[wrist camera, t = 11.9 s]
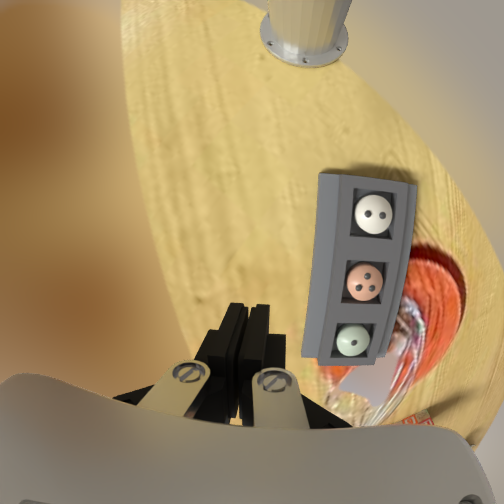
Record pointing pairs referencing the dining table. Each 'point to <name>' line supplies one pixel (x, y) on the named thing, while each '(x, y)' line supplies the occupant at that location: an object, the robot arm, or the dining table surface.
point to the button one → (352, 339)
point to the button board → (348, 254)
